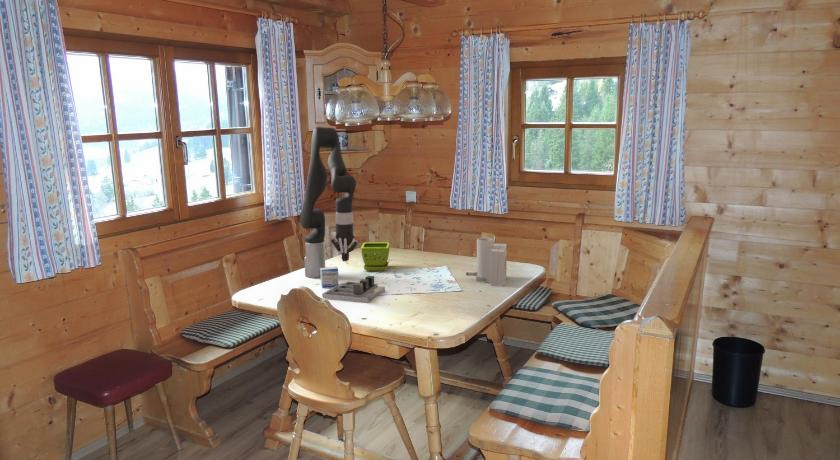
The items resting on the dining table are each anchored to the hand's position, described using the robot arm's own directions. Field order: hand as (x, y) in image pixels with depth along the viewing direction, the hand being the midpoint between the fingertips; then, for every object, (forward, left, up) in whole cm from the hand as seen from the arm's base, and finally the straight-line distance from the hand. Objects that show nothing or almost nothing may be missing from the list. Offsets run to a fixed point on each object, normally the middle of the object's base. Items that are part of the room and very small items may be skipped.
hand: (345, 260), depth 272 cm
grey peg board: (+3, +2, -16) cm, 16 cm away
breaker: (+8, -4, -14) cm, 16 cm away
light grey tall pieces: (+53, +41, -16) cm, 69 cm away
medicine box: (-14, +11, -16) cm, 24 cm away
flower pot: (-6, +46, -16) cm, 49 cm away
